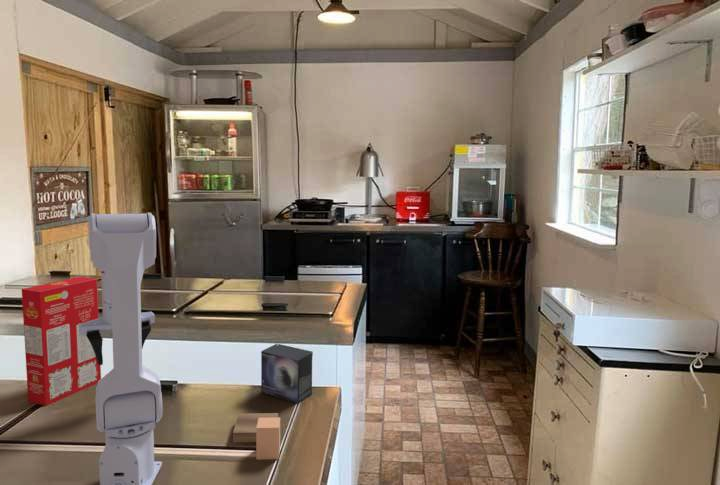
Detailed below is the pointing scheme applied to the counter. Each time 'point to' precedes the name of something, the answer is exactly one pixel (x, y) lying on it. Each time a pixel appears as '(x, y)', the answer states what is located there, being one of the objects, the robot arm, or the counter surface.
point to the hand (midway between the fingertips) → (119, 358)
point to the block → (268, 438)
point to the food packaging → (59, 338)
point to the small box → (286, 372)
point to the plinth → (248, 426)
